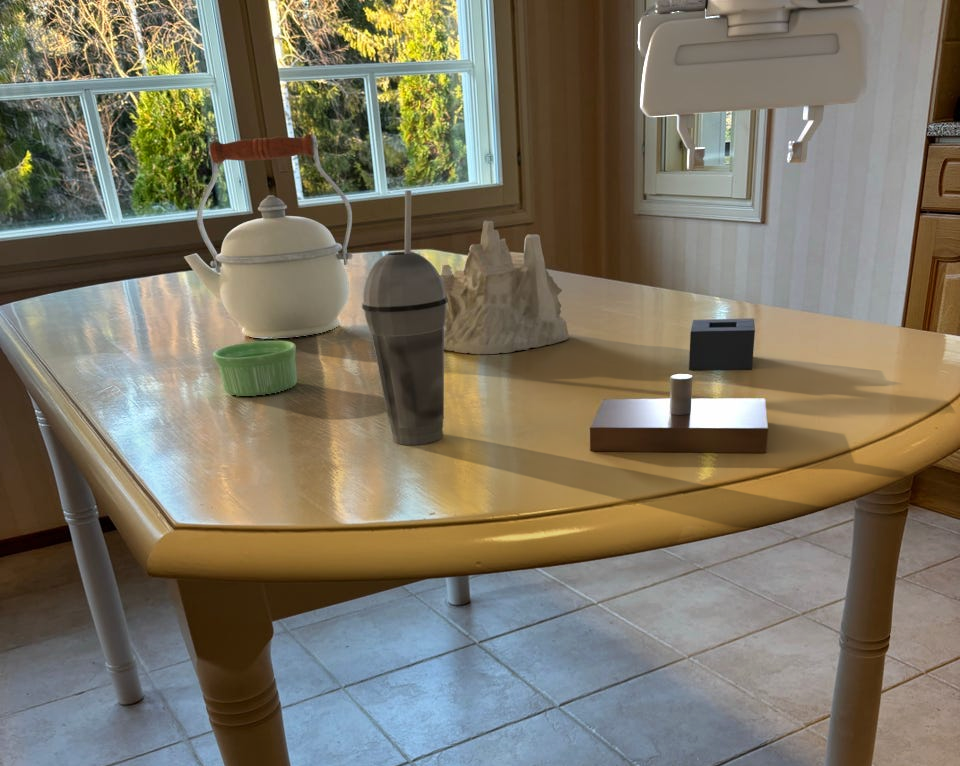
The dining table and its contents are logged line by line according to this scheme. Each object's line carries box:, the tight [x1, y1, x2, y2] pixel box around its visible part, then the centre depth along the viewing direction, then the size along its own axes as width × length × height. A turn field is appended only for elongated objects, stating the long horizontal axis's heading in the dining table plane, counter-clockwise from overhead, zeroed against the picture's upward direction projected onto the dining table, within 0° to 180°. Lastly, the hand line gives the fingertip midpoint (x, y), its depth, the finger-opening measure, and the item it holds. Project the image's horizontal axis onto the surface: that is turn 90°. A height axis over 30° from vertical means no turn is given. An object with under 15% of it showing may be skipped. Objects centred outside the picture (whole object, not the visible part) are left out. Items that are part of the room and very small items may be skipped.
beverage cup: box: [361, 190, 448, 446], centre depth 79 cm, size 7×7×20 cm
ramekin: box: [212, 340, 298, 397], centre depth 103 cm, size 9×9×4 cm
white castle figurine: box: [439, 220, 570, 356], centre depth 116 cm, size 16×16×15 cm
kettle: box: [183, 133, 353, 338], centre depth 130 cm, size 25×18×25 cm
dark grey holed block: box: [688, 318, 756, 371], centre depth 100 cm, size 6×6×4 cm
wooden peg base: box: [589, 373, 769, 454], centre depth 78 cm, size 14×9×5 cm, turn 76°
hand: (745, 166), depth 89 cm, fingers open, 8 cm apart
